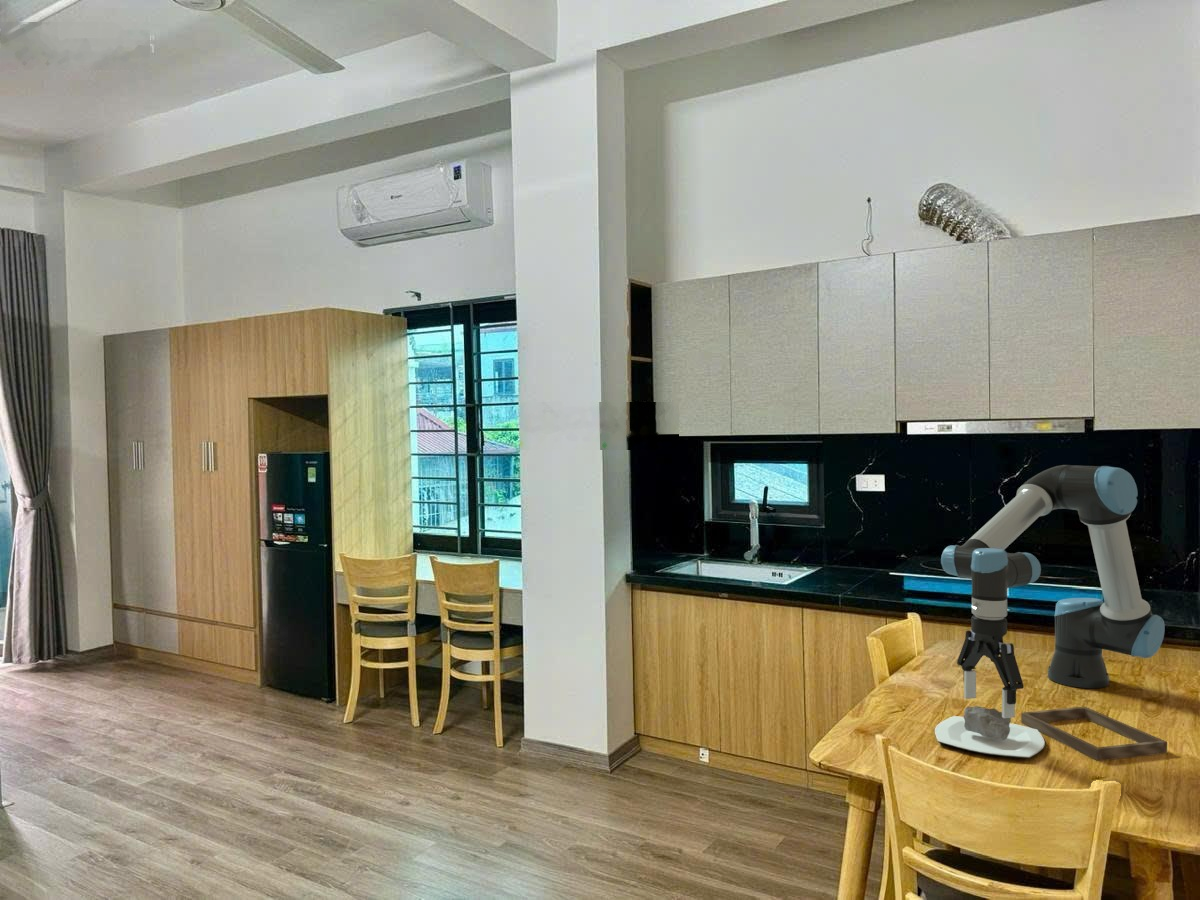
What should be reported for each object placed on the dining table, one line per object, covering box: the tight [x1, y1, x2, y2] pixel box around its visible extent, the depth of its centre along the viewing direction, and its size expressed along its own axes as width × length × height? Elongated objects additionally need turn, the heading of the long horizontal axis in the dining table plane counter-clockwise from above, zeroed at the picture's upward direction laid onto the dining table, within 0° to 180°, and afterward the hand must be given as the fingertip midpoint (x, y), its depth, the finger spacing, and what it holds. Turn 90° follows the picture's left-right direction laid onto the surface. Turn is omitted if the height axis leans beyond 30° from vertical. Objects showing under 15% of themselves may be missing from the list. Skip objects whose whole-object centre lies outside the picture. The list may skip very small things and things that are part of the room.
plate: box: [934, 715, 1046, 759], centre depth 200 cm, size 23×23×2 cm
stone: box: [963, 705, 1012, 740], centre depth 200 cm, size 8×10×6 cm
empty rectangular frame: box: [1020, 706, 1168, 762], centre depth 201 cm, size 18×24×2 cm
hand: (988, 707), depth 199 cm, fingers open, 13 cm apart
